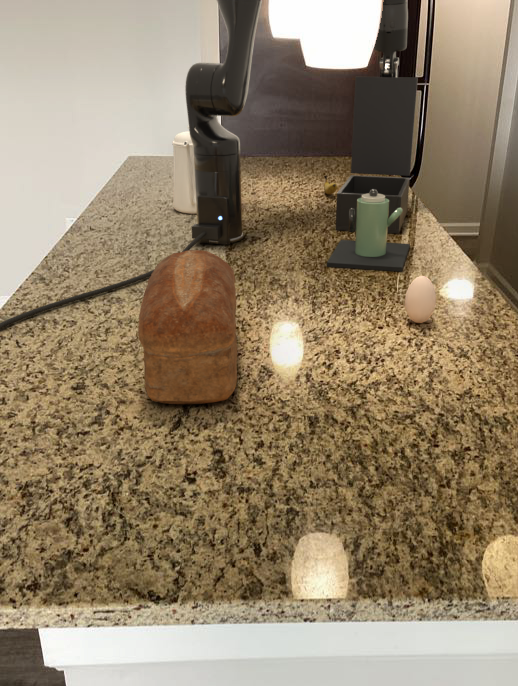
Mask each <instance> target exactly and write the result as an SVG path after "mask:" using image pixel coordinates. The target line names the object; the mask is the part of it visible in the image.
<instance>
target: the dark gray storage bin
mask: <svg viewBox="0 0 518 686" xmlns="http://www.w3.org/2000/svg"><path fill="white" fill-rule="evenodd" d="M372 189H375V190H377V192H378V194H383V195H385V198H386V199H388V200H389V213H388V218H389V217H390V216H391V215H392V214H393V213H394V212H395V211H396V209H397V208H402V210H403V212H402V214H401V215H400V216H399V217H398V218H397V219H396V220H395V221H394V222H393V223H392V224H391V225H390V226H389V227H388V230H387V234H400V232H401V229H402V226H403V224H404V221H405V218H406V215H407V213H408V204H409V191H410V177H404V176H403V177H401V176H381V175H380V176H379V175H377V176H376V175H358V174H357V175H356V174H354V175H353V174H352V175H350V176H349V177H348V178H347V179H346V181H345V182H344V183H343V184H342V186H341V187H340V189H339V190H338V191H337V192H336V204H335V205H336V207H335V231H344V232H345V231H346V232H349V210H350V209H351V208H354V210H355V217H354V231H353V232H356V215H357V199H359V198H362V195H363V194H368V193H369V192H370V190H372Z"/></svg>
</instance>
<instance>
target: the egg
mask: <svg viewBox="0 0 518 686" xmlns="http://www.w3.org/2000/svg"><path fill="white" fill-rule="evenodd" d="M436 304H437V293H436V289H435V285H434V284H433V282H432V280H431V279H430V278H428V277H427V276H425V275H419V276H416V277H415V278H414V279H413V280H412V281H411V283H410V284H409V285H408V288H407V289H406V293H405V298H404V308H405V311H406V314H407V316H408V318H409V319H410V320H411V321H412V322H413V323H416V324H422V323H425V322H427V321H428V320H429V319H430V318H431V317H432V315H433V314H434V311H435V309H436Z"/></svg>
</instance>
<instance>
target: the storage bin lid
mask: <svg viewBox="0 0 518 686" xmlns="http://www.w3.org/2000/svg"><path fill="white" fill-rule="evenodd" d="M418 79H419V78H418V77H405V76H404V77H402V76H400V77H398V76H397V77H381V76H355V83H354V103H353V119H352V120H353V122H352V139H351V140H352V141H351V142H352V143H351V160H350V162H351V163H350V174H355V175H356V174H357V175H358V174H360V175H378V176H379V175H380V176H400V177H401V176H403V177H404V176H405V177H410V176H411V167H412V156H413V155H412V154H413V144H414V131H415V130H414V128H415V116H416V104H417V92H418Z"/></svg>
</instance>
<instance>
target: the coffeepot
mask: <svg viewBox="0 0 518 686" xmlns="http://www.w3.org/2000/svg"><path fill="white" fill-rule="evenodd" d="M187 129H188V130H189V124H188V125H187ZM172 146H173V149H172V150H173V151H172V152H173V155H172V156H173V157H172V158H173V162H172V163H173V165H172V166H173V167H172V168H173V171H172V172H173V173H172V174H173V175H172V176H173V177H172V178H173V179H172V180H173V181H172V182H173V183H172V190H173V191H172V205H173V208H174V210H175V211H177V212H179V213H181V214H182V213H183V214H189V215H190V214H191V215H197V207H196V188H195V170H194V151H193V144H192V141H191V138H190V133H189V131H181V132H178V133H177V134H176V135H175V136H174V138H173V140H172Z"/></svg>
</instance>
